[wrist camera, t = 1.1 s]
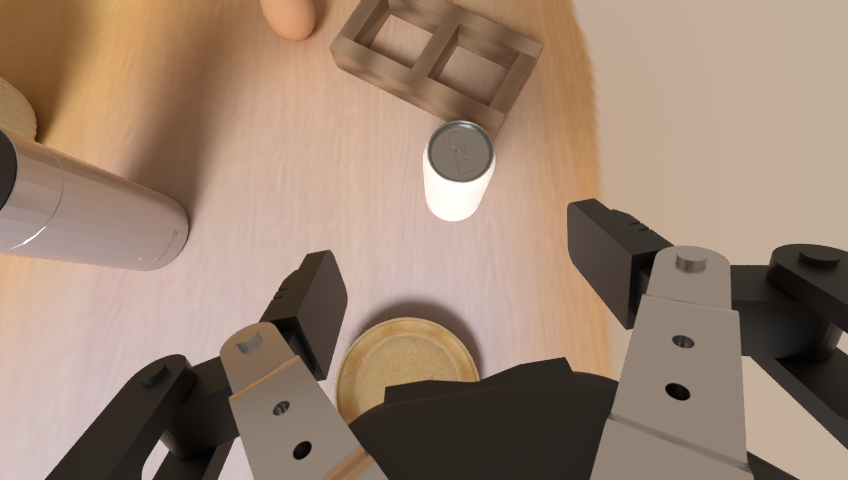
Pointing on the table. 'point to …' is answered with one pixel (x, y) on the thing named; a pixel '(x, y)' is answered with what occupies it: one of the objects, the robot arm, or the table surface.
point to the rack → (437, 57)
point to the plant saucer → (398, 362)
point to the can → (457, 169)
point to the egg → (290, 17)
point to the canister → (16, 112)
